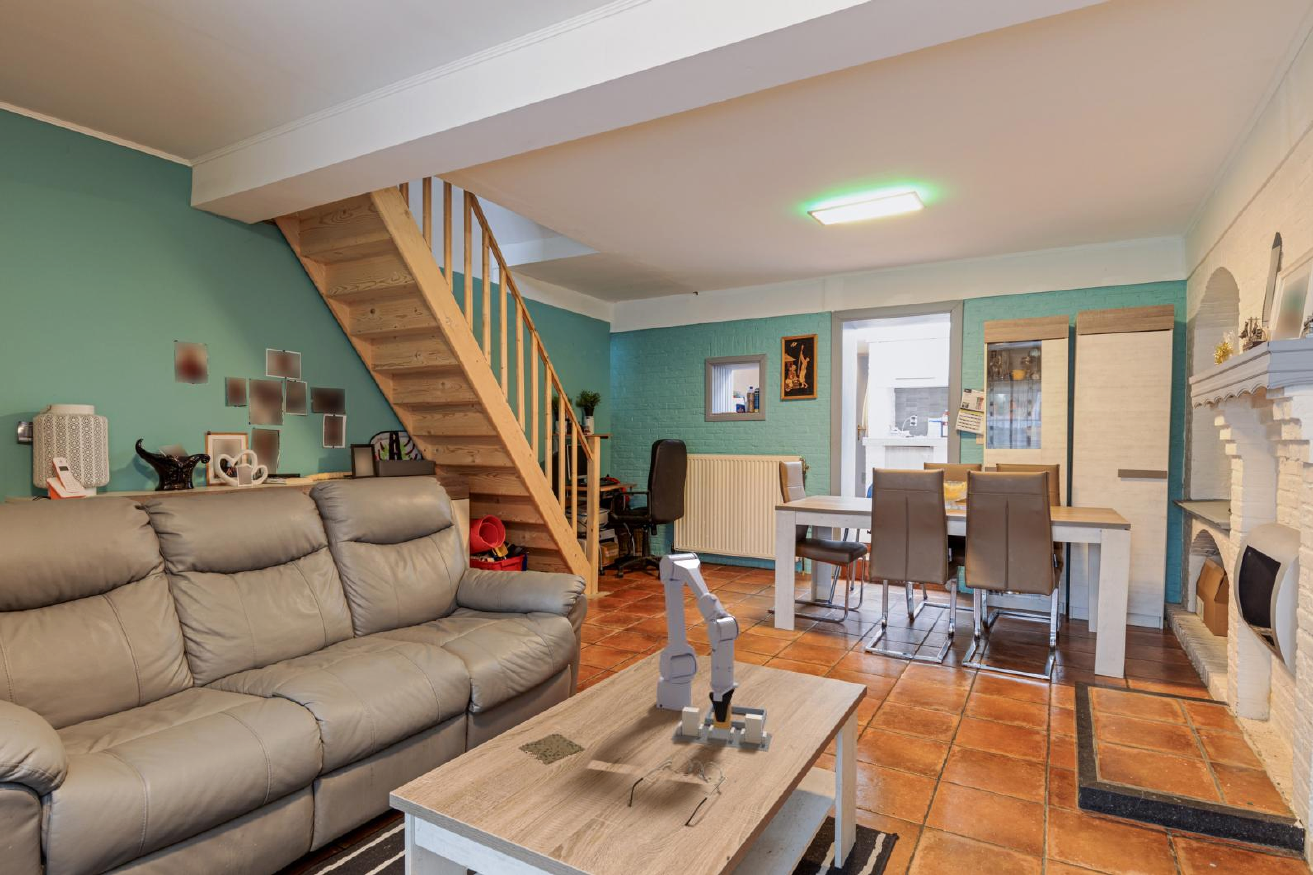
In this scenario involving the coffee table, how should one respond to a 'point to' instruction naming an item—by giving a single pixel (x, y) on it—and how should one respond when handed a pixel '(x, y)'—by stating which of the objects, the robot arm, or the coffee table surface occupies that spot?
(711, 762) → the eyeglasses
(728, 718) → the orange fuse
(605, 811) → the coffee table surface
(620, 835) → the coffee table surface
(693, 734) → the block
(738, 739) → the panel
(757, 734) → the block
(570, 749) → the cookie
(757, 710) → the tray
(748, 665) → the coffee table surface
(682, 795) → the coffee table surface
